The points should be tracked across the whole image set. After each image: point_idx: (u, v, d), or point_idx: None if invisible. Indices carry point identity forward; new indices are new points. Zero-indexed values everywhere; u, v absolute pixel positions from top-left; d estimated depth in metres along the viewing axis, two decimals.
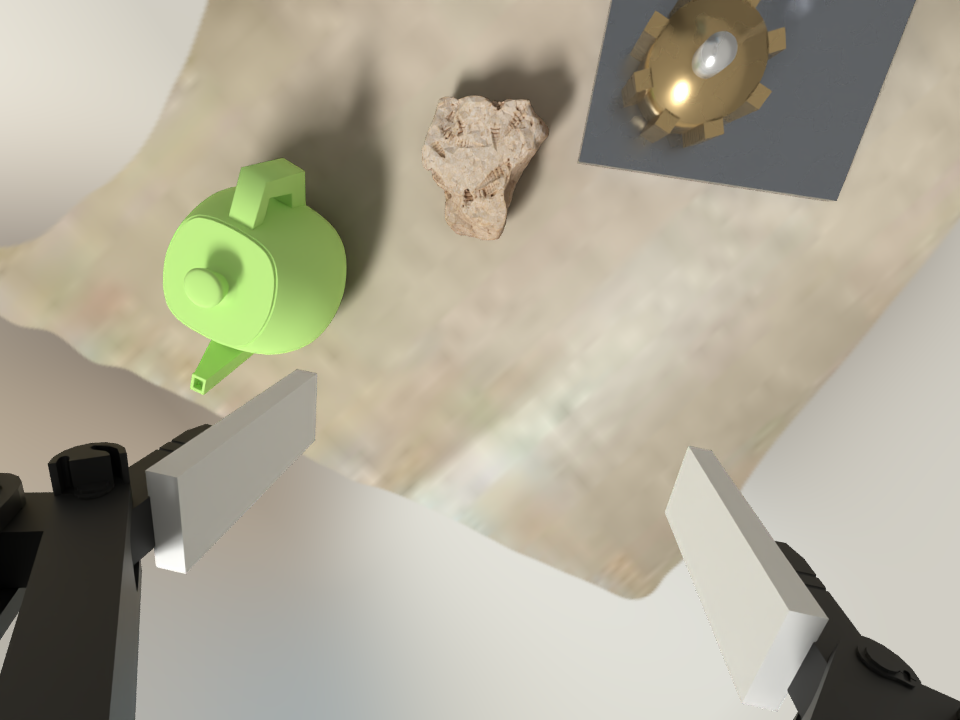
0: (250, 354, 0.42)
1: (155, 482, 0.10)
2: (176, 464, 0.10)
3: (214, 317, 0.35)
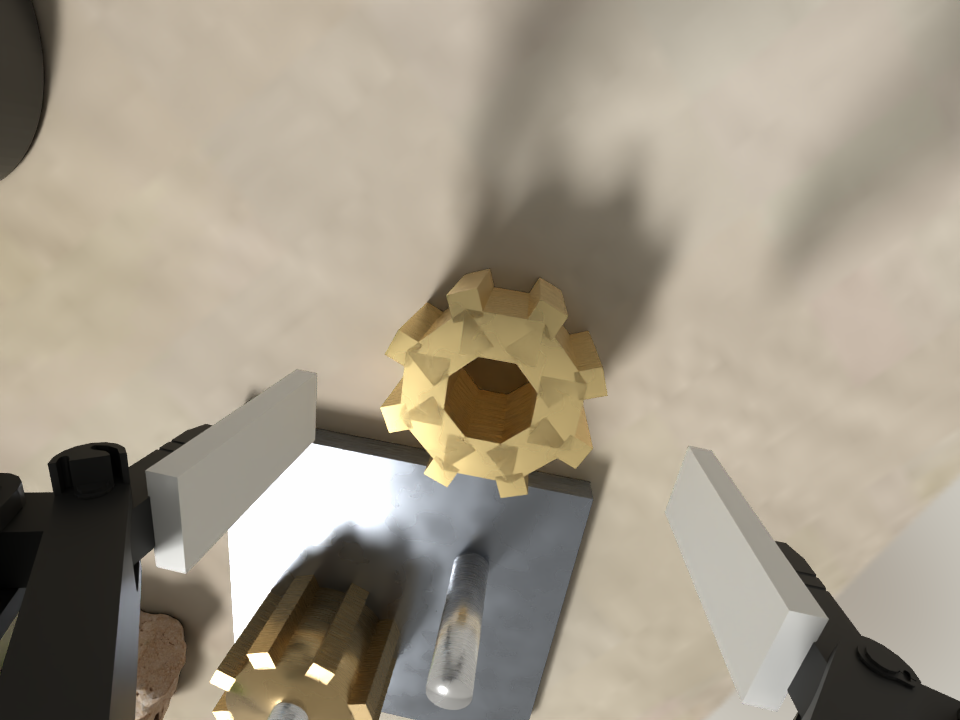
0: None
1: (155, 482, 0.10)
2: (176, 464, 0.10)
3: None
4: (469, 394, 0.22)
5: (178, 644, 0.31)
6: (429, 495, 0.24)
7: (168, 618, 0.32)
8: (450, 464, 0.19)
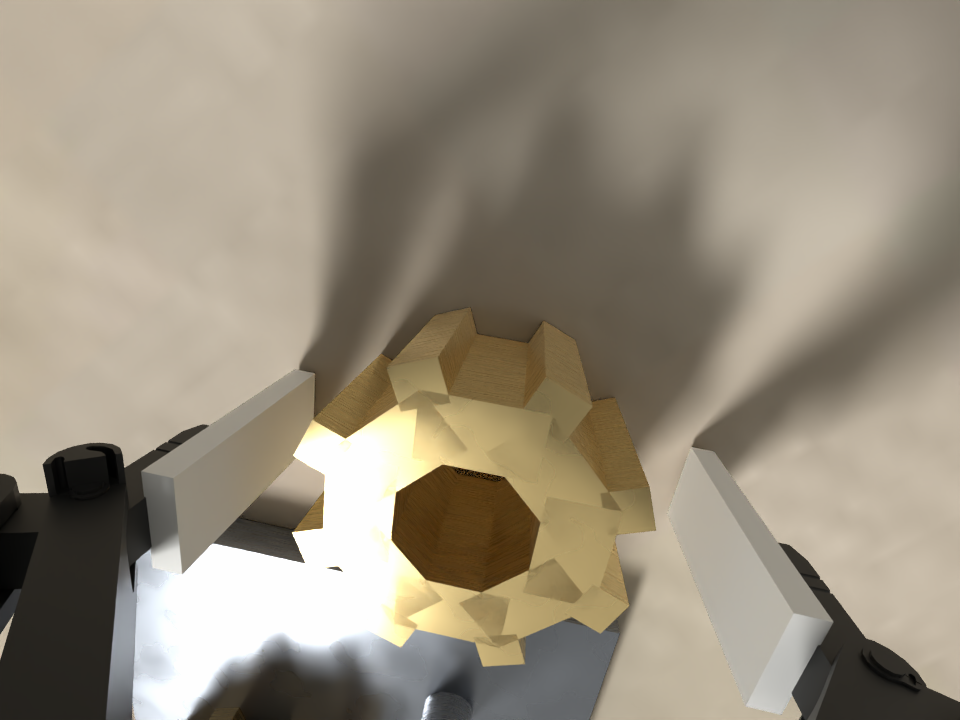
0: None
1: (151, 483, 0.10)
2: (172, 465, 0.10)
3: None
4: (440, 489, 0.15)
5: None
6: None
7: None
8: (403, 617, 0.12)
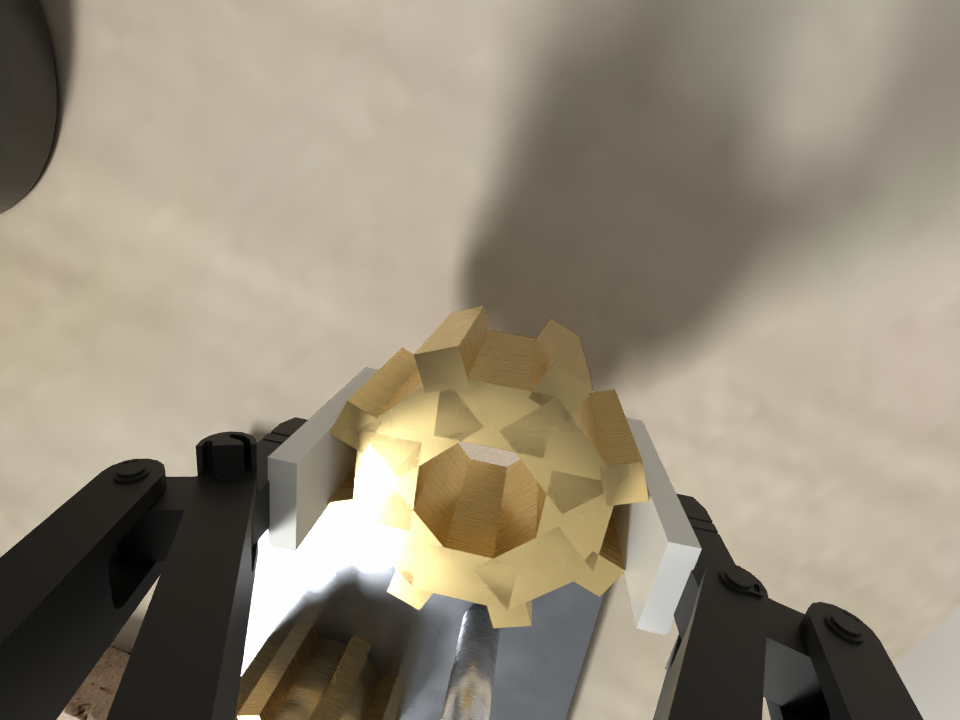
0: None
1: (276, 468, 0.11)
2: (292, 452, 0.11)
3: None
4: (455, 471, 0.16)
5: None
6: None
7: None
8: (423, 581, 0.14)
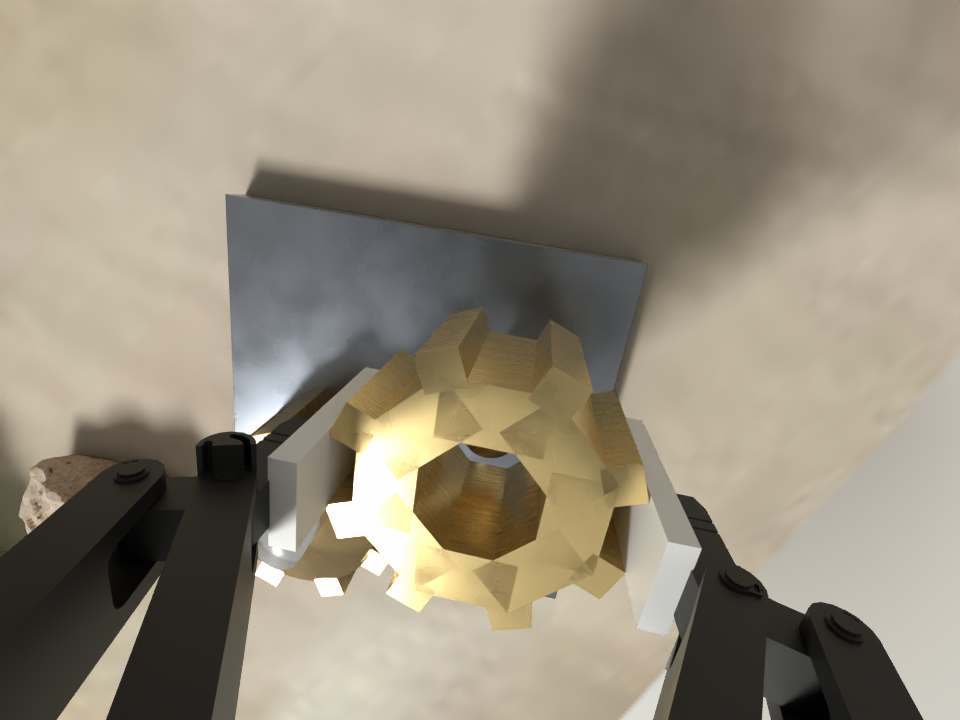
0: None
1: (276, 468, 0.11)
2: (292, 452, 0.11)
3: None
4: (455, 473, 0.16)
5: None
6: (458, 273, 0.21)
7: None
8: (422, 583, 0.14)
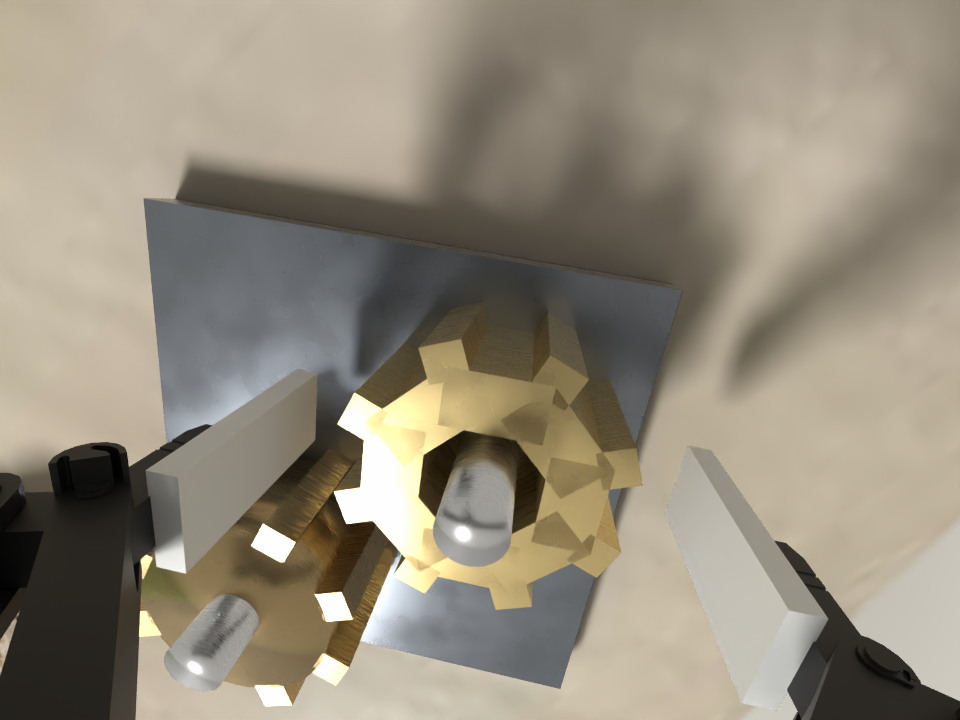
0: None
1: (155, 482, 0.10)
2: (176, 464, 0.10)
3: None
4: None
5: None
6: (438, 299, 0.17)
7: None
8: (428, 566, 0.15)
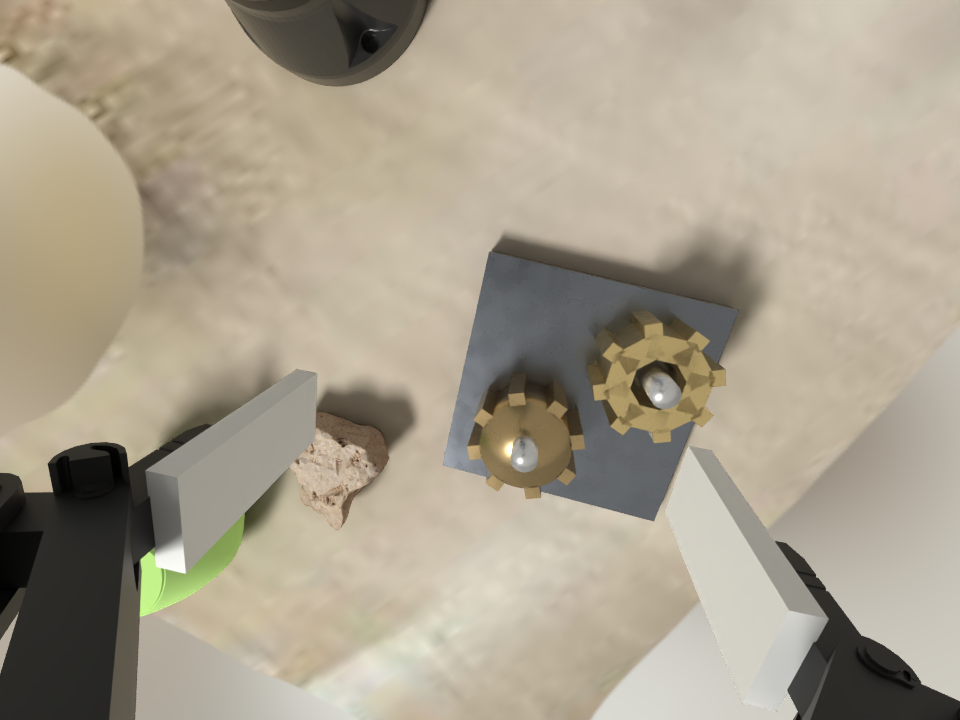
0: None
1: (155, 482, 0.10)
2: (176, 464, 0.10)
3: None
4: None
5: (383, 445, 0.43)
6: (624, 307, 0.36)
7: None
8: (627, 421, 0.34)
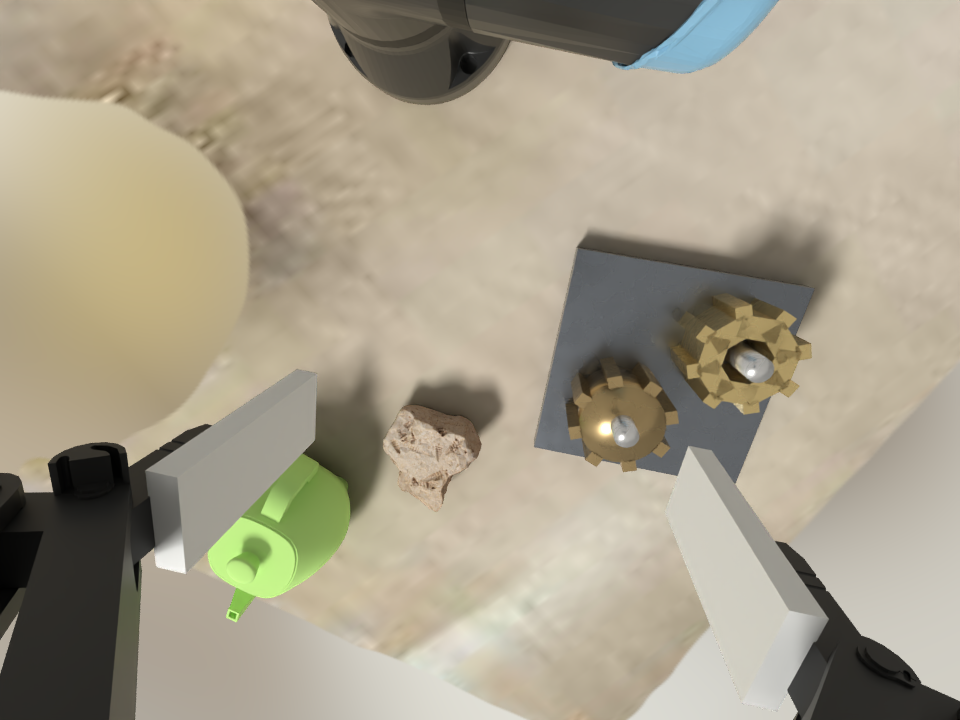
0: None
1: (155, 482, 0.10)
2: (176, 464, 0.10)
3: None
4: None
5: (475, 433, 0.47)
6: (706, 292, 0.39)
7: (465, 418, 0.47)
8: (718, 396, 0.37)
